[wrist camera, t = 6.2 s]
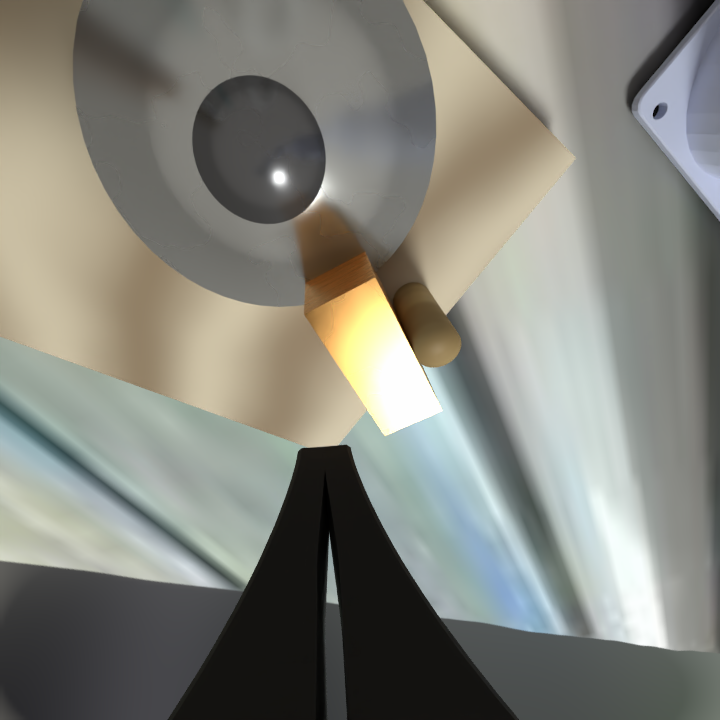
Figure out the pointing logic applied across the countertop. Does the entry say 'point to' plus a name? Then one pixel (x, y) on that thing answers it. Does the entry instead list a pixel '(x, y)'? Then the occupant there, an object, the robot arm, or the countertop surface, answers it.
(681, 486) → the countertop surface
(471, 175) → the board
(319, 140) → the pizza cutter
